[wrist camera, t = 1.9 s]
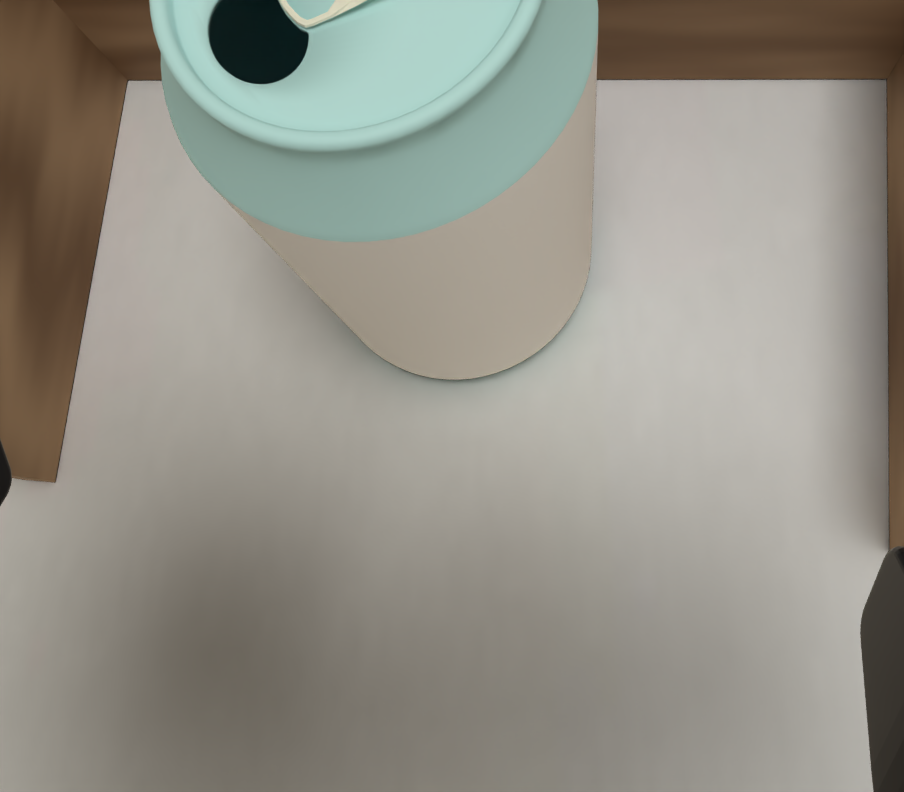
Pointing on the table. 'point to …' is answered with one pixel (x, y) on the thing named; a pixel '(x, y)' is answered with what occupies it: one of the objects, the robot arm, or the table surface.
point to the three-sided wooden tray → (139, 58)
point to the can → (402, 159)
